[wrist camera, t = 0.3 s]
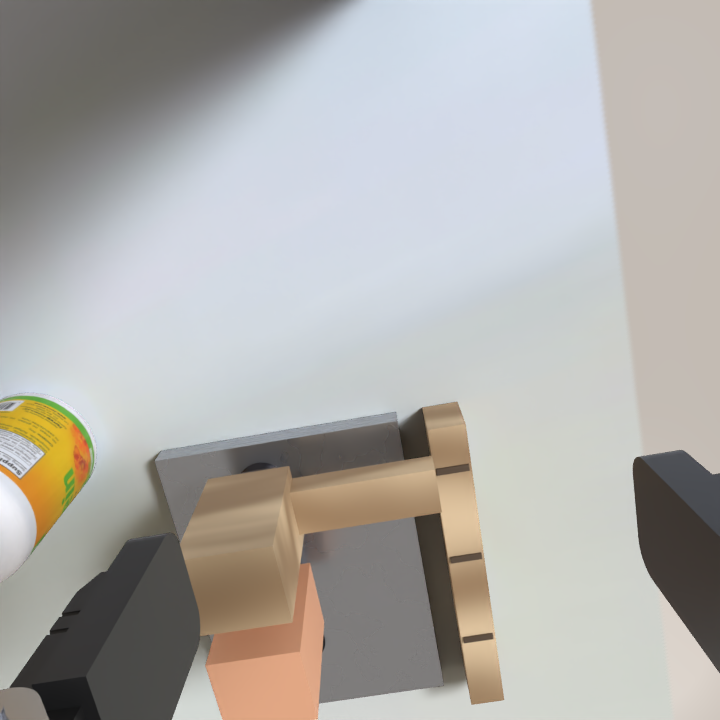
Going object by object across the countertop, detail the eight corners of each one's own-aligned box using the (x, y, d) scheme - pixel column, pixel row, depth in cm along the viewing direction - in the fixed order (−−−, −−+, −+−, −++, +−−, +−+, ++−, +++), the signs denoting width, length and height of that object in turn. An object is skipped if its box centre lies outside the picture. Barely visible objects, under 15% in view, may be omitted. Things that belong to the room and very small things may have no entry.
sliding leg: (238, 550, 31) (205, 665, 24) (312, 538, 30) (300, 651, 24) (254, 606, 32) (226, 732, 25) (326, 595, 31) (317, 719, 25)
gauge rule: (218, 441, 30) (169, 551, 22) (457, 401, 30) (493, 500, 22) (287, 692, 35) (267, 858, 27) (494, 663, 35) (535, 823, 27)
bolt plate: (160, 450, 31) (154, 461, 30) (395, 412, 30) (397, 421, 29) (237, 699, 35) (233, 716, 34) (441, 670, 35) (443, 686, 34)
